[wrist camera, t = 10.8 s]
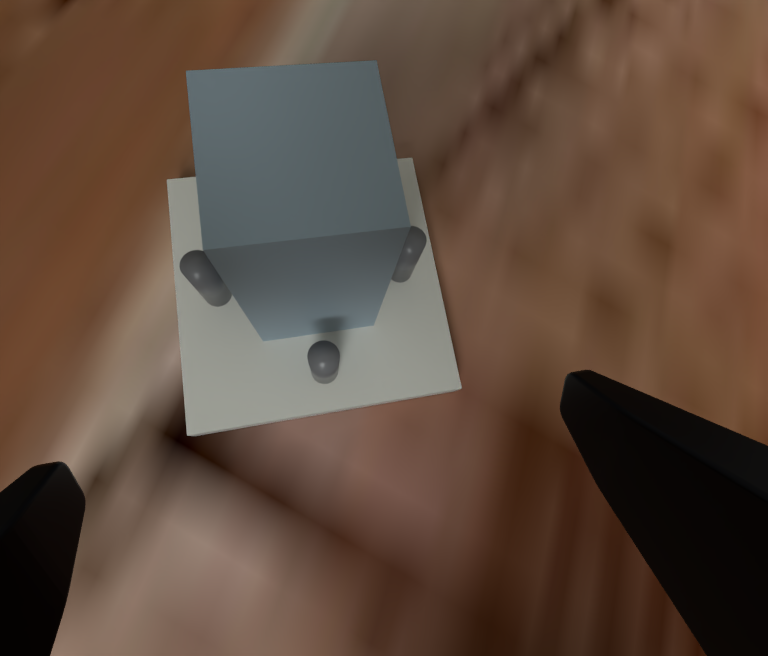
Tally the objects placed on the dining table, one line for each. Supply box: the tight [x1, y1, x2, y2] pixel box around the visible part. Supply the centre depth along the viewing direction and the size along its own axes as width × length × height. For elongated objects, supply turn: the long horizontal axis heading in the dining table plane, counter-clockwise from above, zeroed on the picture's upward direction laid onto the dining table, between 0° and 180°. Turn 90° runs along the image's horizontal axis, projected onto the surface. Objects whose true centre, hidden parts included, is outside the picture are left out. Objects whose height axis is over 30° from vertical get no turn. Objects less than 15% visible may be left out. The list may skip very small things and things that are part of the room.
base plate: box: [167, 158, 462, 436], centre depth 20 cm, size 12×12×5 cm
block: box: [186, 60, 411, 341], centre depth 16 cm, size 5×5×10 cm
